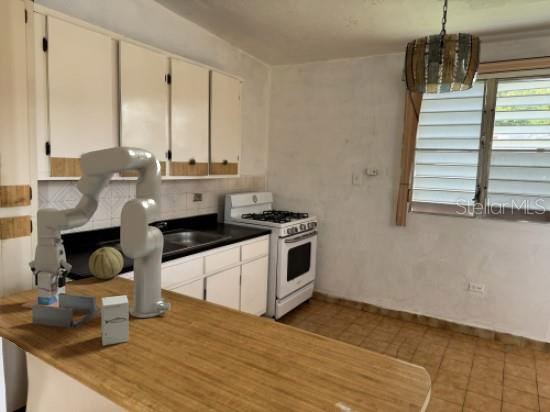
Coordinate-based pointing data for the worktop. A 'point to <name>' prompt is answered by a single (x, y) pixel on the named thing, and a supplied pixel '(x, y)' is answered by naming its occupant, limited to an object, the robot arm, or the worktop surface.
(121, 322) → the supplement box
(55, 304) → the plate
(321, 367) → the worktop surface
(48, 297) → the ink box
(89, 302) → the grey frame rack
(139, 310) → the robot arm
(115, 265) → the cantaloupe
